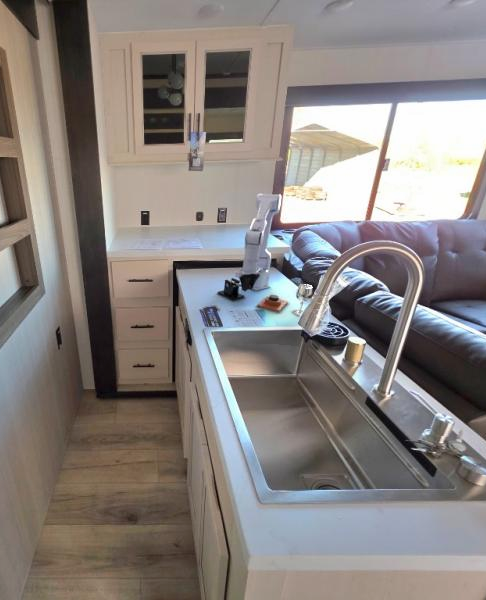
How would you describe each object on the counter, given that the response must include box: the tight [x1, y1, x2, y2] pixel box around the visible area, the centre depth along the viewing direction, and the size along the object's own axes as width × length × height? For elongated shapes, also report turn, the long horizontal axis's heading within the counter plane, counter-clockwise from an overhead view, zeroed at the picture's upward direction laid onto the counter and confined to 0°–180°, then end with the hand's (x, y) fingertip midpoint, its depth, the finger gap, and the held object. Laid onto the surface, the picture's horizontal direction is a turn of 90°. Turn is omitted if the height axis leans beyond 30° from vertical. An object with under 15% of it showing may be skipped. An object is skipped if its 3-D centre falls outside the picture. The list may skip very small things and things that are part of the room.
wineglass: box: [293, 283, 313, 316], centre depth 127 cm, size 6×6×12 cm
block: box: [257, 295, 289, 313], centre depth 136 cm, size 12×9×3 cm
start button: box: [269, 294, 280, 301], centre depth 135 cm, size 4×4×2 cm
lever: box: [230, 280, 251, 291], centre depth 140 cm, size 12×3×3 cm, turn 31°
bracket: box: [217, 277, 245, 302], centre depth 144 cm, size 10×7×8 cm
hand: (246, 289), depth 137 cm, fingers closed on lever, 3 cm apart
